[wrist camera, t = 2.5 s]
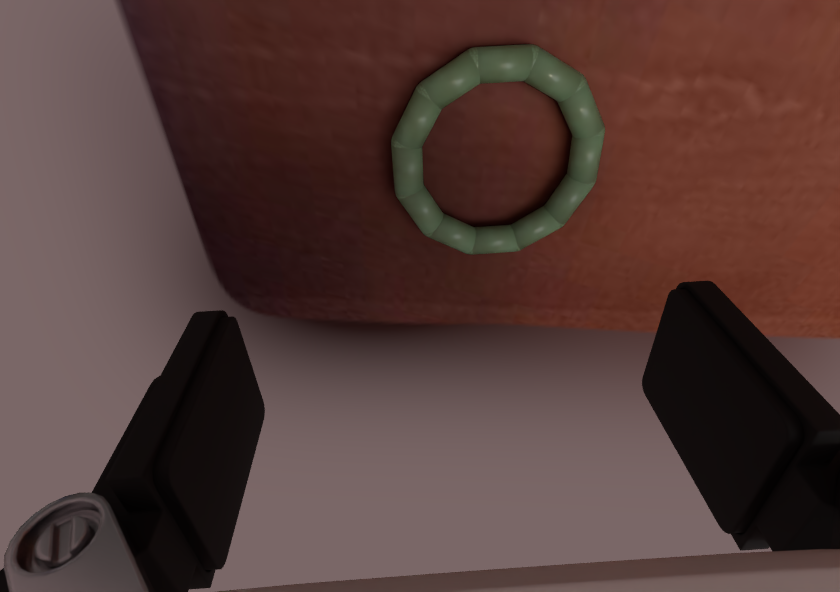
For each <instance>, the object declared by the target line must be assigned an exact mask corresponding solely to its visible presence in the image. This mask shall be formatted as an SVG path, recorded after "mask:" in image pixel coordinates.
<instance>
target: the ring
mask: <svg viewBox="0 0 840 592" xmlns="http://www.w3.org/2000/svg"><path fill="white" fill-rule="evenodd" d="M516 81H524V82H526V83H528V84H529V85H531V86H533V87H534V88H536V89H538V90H539V91H541V92H543V93H544V94H546V95H548V96H550V97H551V98H553V99H555V100H556V101H557V102H558V104H559V106H560V109H561V111H562V113H563V115H564V118H565V120H566V122H567V124H568V127H569V129H570V131H571V133H572V141H571V148H570V155H569V163H568V170H567V174H566V175H565V177H564V178H563V180H562V181H561V183H560V184H559V185H558V187H557V188H556V190H555V191H554V192H553V194H552V195H551V197H550V198H549V199H548V201H547V202H546V204H545V205H544V206H543V207H541V208H539V209H537V210H536V211H534V212H532V213H530V214H528V215H527V216H525V217H523V218H521V219H520V220H518V221H516V222H514V223H513V224H511V225H499V226H485V227H472V226H470V225H468V224H466V223H464V222H461V221H459V220H457V219H455V218H453V217H450V216H448V215H446V214H444V213H442V211H441V210H440V208H439V207H438V205H437V204H436V202H435V201H434V199H433V198H432V196H431V195H430V193H429V192H428V190H427V189H426V187H425V186H424V184H423V158H422V146H423V144H424V142H425V140H426V138H427V136H428V135H429V133H430V131H431V129H432V127H433V125H434V123H435V121H436V119H437V117H438V116H439V114H440V112H441V110H442V109H443V108H444V107H446V106H447V105H449V104H450V103H452V102H453V101H455V100H456V99H458V98H459V97H461V96H462V95H464V94H465V93H467V92H468V91H470V90H471V89H473V88H474V87H476V86H477V85H479V84H482V83H499V82H516ZM604 134H605V126H604V123H603V121H602V118H601V116H600V113H599V111H598V108H597V106H596V103H595V101H594V98H593V96H592V93H591V91H590V88H589V86H588V83H587V81H586V78H585V77H584V76H583V74H581V73H580V72H578V71H577V70H575V69H574V68H572V67H570V66H569V65H567V64H566V63H564V62H562V61H561V60H559V59H558V58H556V57H554V56H553V55H551V54H550V53H548V52H546V51H545V50H543V49H542V48H540V47H538V46H537V45H533V44H522V45H504V46H487V47H473V48H470V49H468V50H466V51H465V52H464V53H462V54H461V55H459V56H458V57H456V58H455V59H453V60H452V61H451V62H449V63H448V64H446V65H445V66H443V67H442V68H440V69H439V70H438V71H436V72H435V73H433V74H432V75H430V76H429V77H427V78H426V79H424V80H423V81H422V82H420V83H419V84H418V85H417V87H416V89H415V91H414V93H413V95H412V97H411V99H410V101H409V103H408V105H407V107H406V109H405V111H404V113H403V115H402V117H401V120H400V122H399V124H398V126H397V128H396V130H395V132H394V134H393V136H392V139H391V149H392V162H393V176H394V189H395V194H396V197H397V198H398V200H399V201H400V202H401V204H402V205H403V207H404V208H405V209H406V211H407V212H408V213H409V215H410V216H411V218H412V219H413V220H414V222H415V223H416V225H417V226H418V227H419V229H420V230H421V231H422V233H423V234H424V235H425V236H427V237H429V238H431V239H434V240H436V241H438V242H441V243H443V244H445V245H448V246H450V247H452V248H454V249H457V250H459V251H461V252H464V253H466V254H471V255H472V254H487V253H501V252H515V251H519V250H521V249H523V248H525V247H527V246H529V245H530V244H532V243H534V242H536V241H538V240H539V239H541V238H543V237H545V236H547V235H549V234H550V233H552V232H554V231H556V230H558V229H559V228H561V227H563V226H564V225H565V223H566V222H567V221H568V219H569V218H570V217H571V215H572V214H573V213H574V211H575V210H576V209H577V207H578V206H579V205H580V203H581V202H582V201H583V199H584V198H585V197H586V195H587V194H588V193H589V191H590V190H591V189H592V187H593V186H594V184H595V182H596V179H597V173H598V168H599V162H600V156H601V151H602V145H603V139H604Z"/></svg>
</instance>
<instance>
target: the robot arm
mask: <svg viewBox="0 0 840 592" xmlns="http://www.w3.org/2000/svg"><path fill="white" fill-rule="evenodd" d="M642 386H643V391H644V393H645V396H646V397H647V399H648V400H649V403H650V404H651V406H652V408H653V410H654V411H655V413H656V415H657V417H658V419H659V420H660V422H661V424H662V426H663V427H664V429H665V431H666V433H667V434H668V436H669V438H670V440H671V441H672V443H673V445H674V447H675V449H676V450H677V452H678V454H679V456H680V457H681V459H682V461H683V463H684V464H685V466H686V468H687V470H688V472H689V473H690V475H691V477H692V478H693V480H694V482H695V484H696V486H697V487H698V489H699V491H700V493H701V495H702V496H703V498H704V500H705V501H706V503H707V505H708V507H709V509H710V510H711V512H712V514H713V516H714V518H715V519H716V521H717V523H718V524H719V526H720V527H721V529H722V530H723V531H724V532H726V533H728V534H731V535H732V536H733V538H734V540H735V542H736V543H737V545H738V547H739V549H740V550H753V549H768V548H769V547H770V548H771V550H772V552H751V553H731V554H716V555H702V556H686V557H670V558H656V559H640V560H624V561H610V562H595V563H580V564H565V565H551V566H537V567H522V568H508V569H494V570H480V571H467V572H452V573H438V574H425V575H412V576H400V577H385V578H372V579H359V580H346V581H333V582H319V583H306V584H294V585H283V586H272V587H262V588H252V589H241V590H229V591H219V592H840V415H839V413H838V412H837V411H836V410H835V409H833V407H832V406H831V405H830V404H829V403H828V402H827V401H826V400H825V399H824V398H823V397H822V396H821V395H820V394H819V393H818V392H817V391H816V389H815V388H814V387H813V386H812V385H811V384H810V383H809V382H808V381H807V380H806V379H805V378H804V377H803V376H802V375H801V374H800V373H799V372H798V371H797V370H796V368H795V367H794V366H793V365H792V364H791V363H790V362H789V361H788V360H787V359H786V358H785V357H784V356H783V355H782V354H781V353H780V352H779V351H778V350H777V349H776V348H775V346H774V345H772V343H771V342H770V341H769V340H768V339H767V338H766V337H765V336H764V335H763V334H762V333H761V332H760V331H759V330H758V329H757V328H756V327H755V326H754V324H753V323H752V322H751V321H750V320H749V319H748V318H747V317H746V316H745V315H744V314H743V313H742V312H741V311H740V310H739V309H738V308H737V307H736V306H735V305H734V304H733V303H732V301H731V300H730V299H729V298H728V297H727V296H726V295H725V294H724V293H723V292H722V291H721V290H720V289H719V288H718V287H717V286H716V285H715V284H714V283H713V282H711V281H696V282H683V283H680V284H679V285H678V286H677V288H676V289H674V290H671V292H670V293H669V295H668V298H667V301H666V304H665V308H664V311H663V314H662V317H661V320H660V324H659V327H658V330H657V333H656V337H655V340H654V343H653V346H652V350H651V352H650V356H649V359H648V362H647V365H646V369H645V372H644V375H643V379H642ZM264 409H265V408H264V402H263V399H262V396H261V393H260V390H259V387H258V384H257V381H256V378H255V374H254V372H253V368H252V365H251V362H250V359H249V356H248V353H247V350H246V347H245V344H244V341H243V338H242V335H241V331H240V328H239V325H238V322H237V320H236V318H234V317H228V315H227V314H226V312H225V311H206V312H196V313H194V315H193V316H192V318H191V319H190V321H189V323H188V325H187V327H186V329H185V331H184V333H183V334H182V336H181V338H180V340H179V342H178V344H177V346H176V348H175V349H174V351H173V353H172V355H171V357H170V359H169V361H168V363H167V365H166V366H165V368H164V370H163V372H162V374H161V376H159V377H157V378H156V379H154V381H153V382H152V383H151V385H150V387H149V388H148V390H147V392H146V394H145V396H144V398H143V399H142V401H141V403H140V405H139V407H138V409H137V410H136V412H135V414H134V416H133V418H132V420H131V421H130V423H129V425H128V427H127V429H126V431H125V432H124V435H123V436H122V438H121V440H120V442H119V443H118V445H117V447H116V449H115V451H114V453H113V454H112V456H111V458H110V460H109V462H108V464H107V465H106V467H105V469H104V471H103V473H102V475H101V476H100V479H99V480H98V482H97V484H96V486H95V487H94V490H93V491H92V493H77V494H73V495H69V496H65V497H63V498H61V499H59V500H56V501H54V502H52V503H50V504H48V505H47V506H45V507H44V508H42V509H41V510H40V511H38V512H36V513H35V514H34V515H33V516H31V517H30V518H29V519H28V520H27V521H26V522H25V523H24V524H23V525H22V526H21V527H20V528H19V530H18V531H17V532H16V534H15V535H14V537H13V538H12V540H11V541H10V543H9V546H8V548H7V550H6V553H5V555H4V568H3V569H2V570H1V571H0V592H188V590H189V589H199V588H210V587H211V584H212V580H213V576H214V573H215V569H221V568H222V567H223V566H224V564H225V562H226V559H227V555H228V552H229V547H230V544H231V540H232V537H233V533H234V529H235V525H236V522H237V518H238V514H239V510H240V507H241V503H242V499H243V495H244V492H245V488H246V484H247V480H248V477H249V473H250V469H251V465H252V462H253V458H254V454H255V450H256V446H257V442H258V439H259V435H260V432H261V428H262V424H263V420H264V413H265V410H264Z"/></svg>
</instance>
